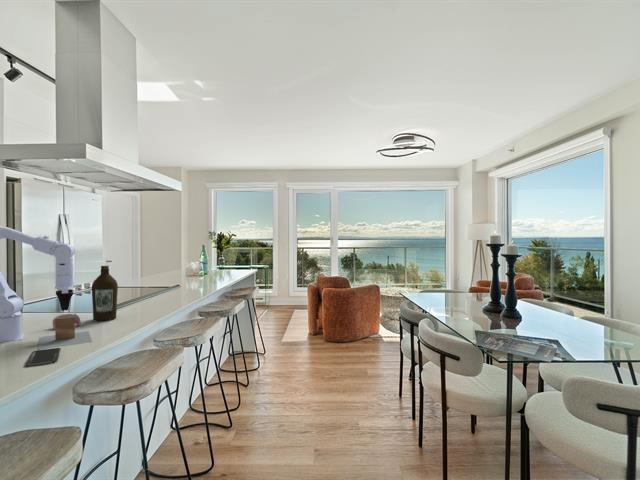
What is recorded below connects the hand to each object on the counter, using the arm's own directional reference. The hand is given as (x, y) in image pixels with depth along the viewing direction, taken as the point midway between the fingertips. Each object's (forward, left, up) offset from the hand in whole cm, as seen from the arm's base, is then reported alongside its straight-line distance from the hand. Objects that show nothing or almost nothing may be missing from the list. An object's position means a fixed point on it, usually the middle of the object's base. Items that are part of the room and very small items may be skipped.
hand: (64, 309), depth 145 cm
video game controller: (-14, +1, -11) cm, 17 cm away
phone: (+27, -6, -11) cm, 30 cm away
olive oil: (-23, +16, -11) cm, 30 cm away
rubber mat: (+8, 0, -10) cm, 13 cm away
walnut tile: (+7, 0, -10) cm, 12 cm away
